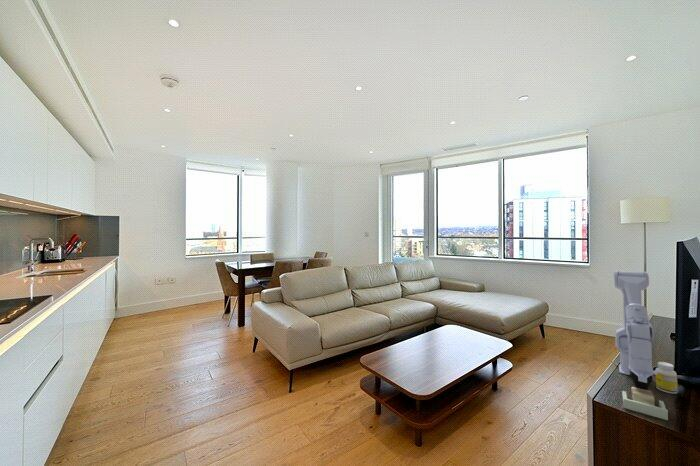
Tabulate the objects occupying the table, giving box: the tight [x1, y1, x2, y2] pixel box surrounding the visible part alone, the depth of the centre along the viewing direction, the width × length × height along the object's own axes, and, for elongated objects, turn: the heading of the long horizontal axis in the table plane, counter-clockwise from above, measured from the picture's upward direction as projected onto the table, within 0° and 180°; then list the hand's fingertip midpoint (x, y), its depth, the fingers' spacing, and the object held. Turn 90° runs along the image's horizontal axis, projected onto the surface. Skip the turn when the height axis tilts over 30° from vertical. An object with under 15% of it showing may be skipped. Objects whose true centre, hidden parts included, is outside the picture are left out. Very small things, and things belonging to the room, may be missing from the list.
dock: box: [621, 390, 669, 421], centre depth 94 cm, size 9×10×3 cm
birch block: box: [631, 386, 656, 406], centre depth 97 cm, size 5×5×4 cm
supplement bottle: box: [654, 361, 679, 395], centre depth 105 cm, size 5×5×10 cm
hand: (641, 394), depth 100 cm, fingers closed
